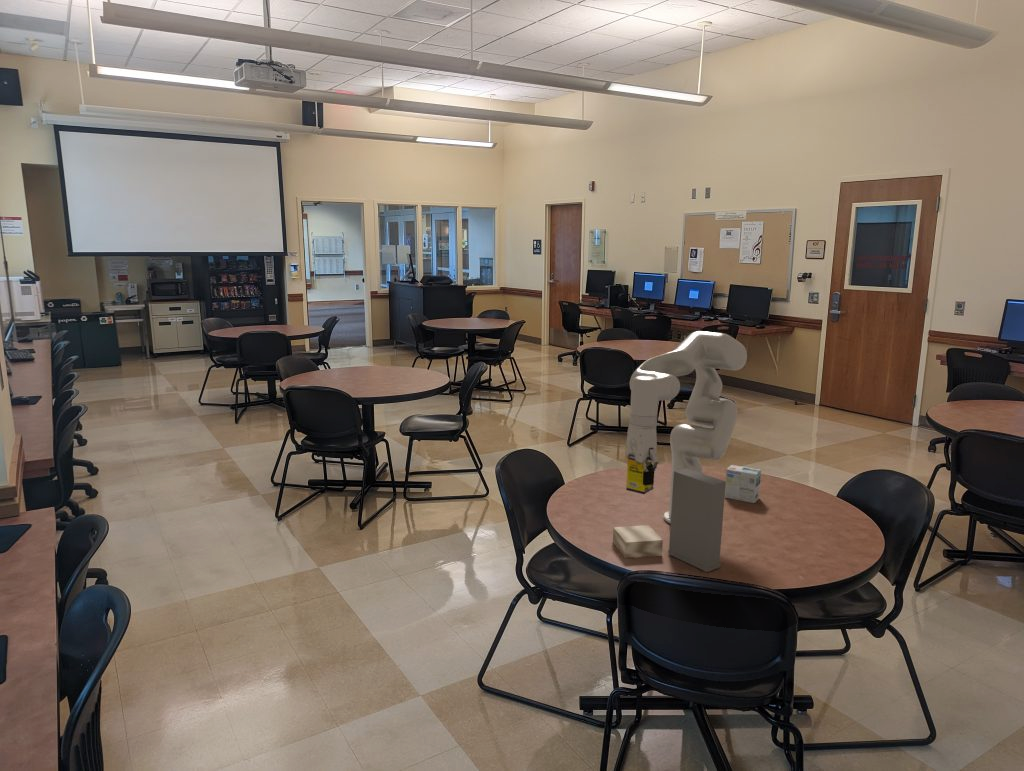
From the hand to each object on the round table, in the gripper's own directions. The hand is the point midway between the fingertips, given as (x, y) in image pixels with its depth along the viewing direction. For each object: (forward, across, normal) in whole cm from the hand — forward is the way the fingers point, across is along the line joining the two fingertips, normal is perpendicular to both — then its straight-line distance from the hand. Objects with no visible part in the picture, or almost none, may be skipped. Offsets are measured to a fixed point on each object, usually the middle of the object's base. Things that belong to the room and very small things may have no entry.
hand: (640, 479), depth 197 cm
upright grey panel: (+21, +12, +12) cm, 27 cm away
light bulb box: (+21, -27, +56) cm, 66 cm away
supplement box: (+3, 0, 0) cm, 3 cm away
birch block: (+22, 0, 0) cm, 22 cm away
